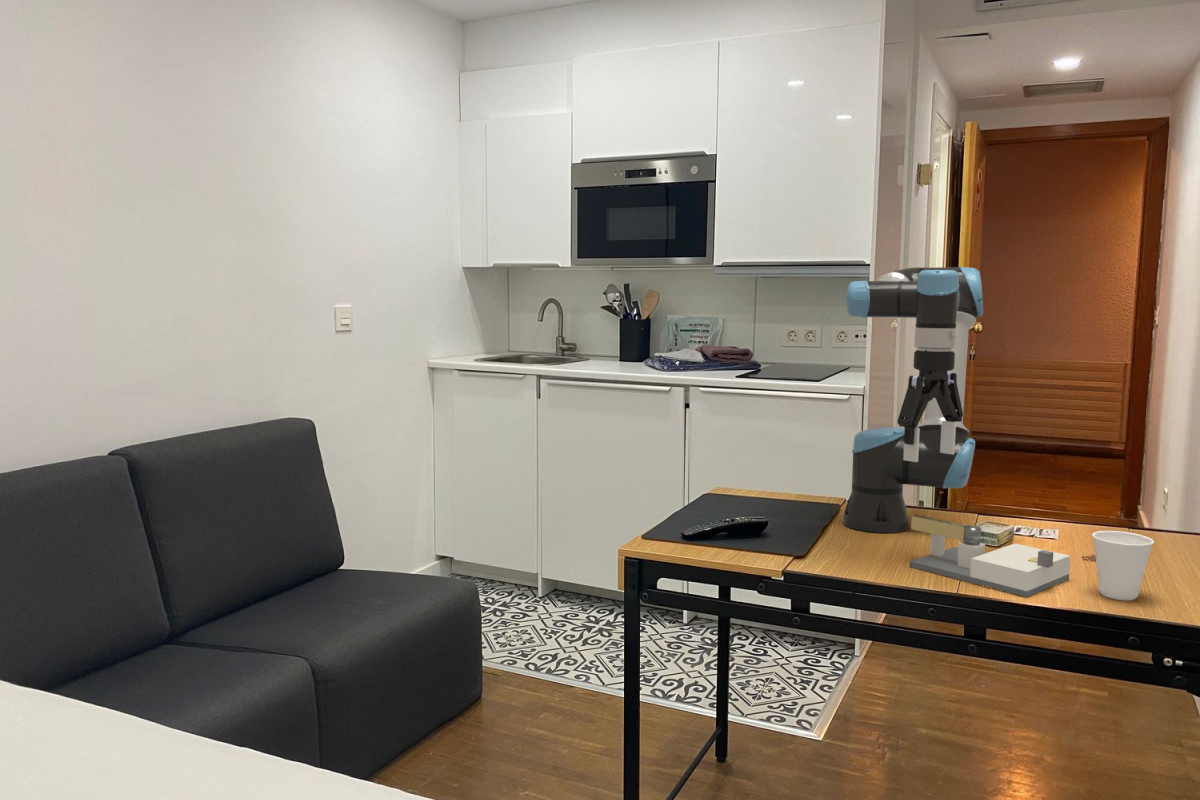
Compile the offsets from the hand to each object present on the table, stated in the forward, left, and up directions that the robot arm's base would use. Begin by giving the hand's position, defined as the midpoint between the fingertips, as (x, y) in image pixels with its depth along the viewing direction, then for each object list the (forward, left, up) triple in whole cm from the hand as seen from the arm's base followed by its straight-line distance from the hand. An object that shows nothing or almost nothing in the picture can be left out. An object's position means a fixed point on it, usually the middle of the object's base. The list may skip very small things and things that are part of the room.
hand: (929, 457), depth 182 cm
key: (+21, +31, -23) cm, 44 cm away
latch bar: (+1, +6, -17) cm, 18 cm away
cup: (+31, +14, -23) cm, 41 cm away
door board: (+9, +8, -23) cm, 26 cm away
